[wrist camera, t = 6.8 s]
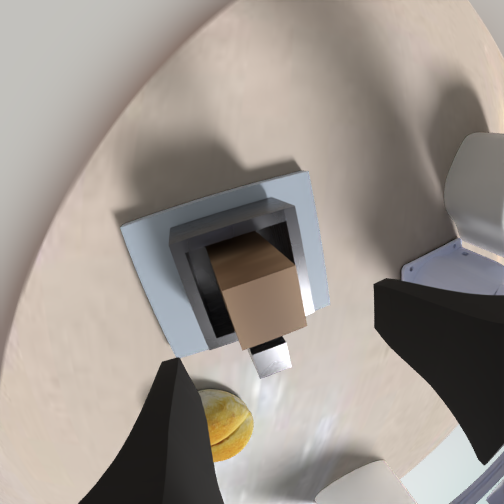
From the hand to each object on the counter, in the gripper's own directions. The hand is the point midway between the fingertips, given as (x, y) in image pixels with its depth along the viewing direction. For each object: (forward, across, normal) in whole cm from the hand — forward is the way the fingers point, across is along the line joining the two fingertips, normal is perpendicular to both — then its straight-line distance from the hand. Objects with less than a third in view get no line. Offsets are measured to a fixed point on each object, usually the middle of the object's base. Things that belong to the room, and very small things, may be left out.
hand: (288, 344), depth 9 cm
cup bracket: (+9, 0, +1) cm, 9 cm away
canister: (+11, -9, +53) cm, 55 cm away
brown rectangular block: (+8, 0, 0) cm, 8 cm away
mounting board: (+10, 0, +1) cm, 10 cm away
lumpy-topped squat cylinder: (+11, -28, +1) cm, 30 cm away
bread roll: (+11, +7, +15) cm, 19 cm away
